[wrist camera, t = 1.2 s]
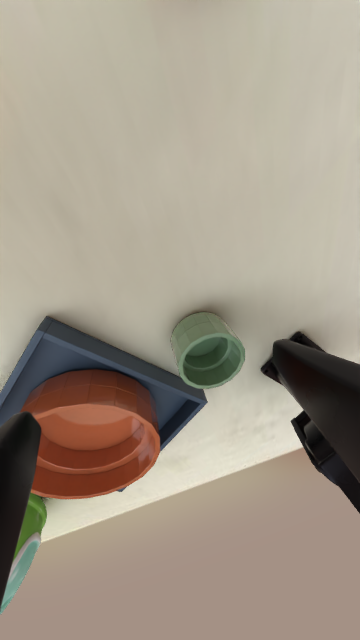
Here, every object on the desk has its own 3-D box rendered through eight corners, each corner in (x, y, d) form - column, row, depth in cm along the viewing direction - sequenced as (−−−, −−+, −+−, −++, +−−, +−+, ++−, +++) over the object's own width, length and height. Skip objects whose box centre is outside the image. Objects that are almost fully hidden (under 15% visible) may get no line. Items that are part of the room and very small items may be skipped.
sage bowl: (236, 327, 24) (257, 352, 20) (201, 366, 25) (215, 396, 21) (194, 299, 21) (209, 320, 17) (158, 344, 23) (164, 374, 19)
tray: (202, 387, 27) (208, 402, 25) (122, 473, 32) (121, 492, 30) (46, 315, 19) (37, 329, 17) (-28, 444, 24) (-43, 466, 22)
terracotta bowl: (178, 393, 26) (187, 430, 22) (116, 462, 30) (114, 505, 26) (60, 343, 20) (41, 381, 16) (1, 437, 24) (-27, 488, 20)
